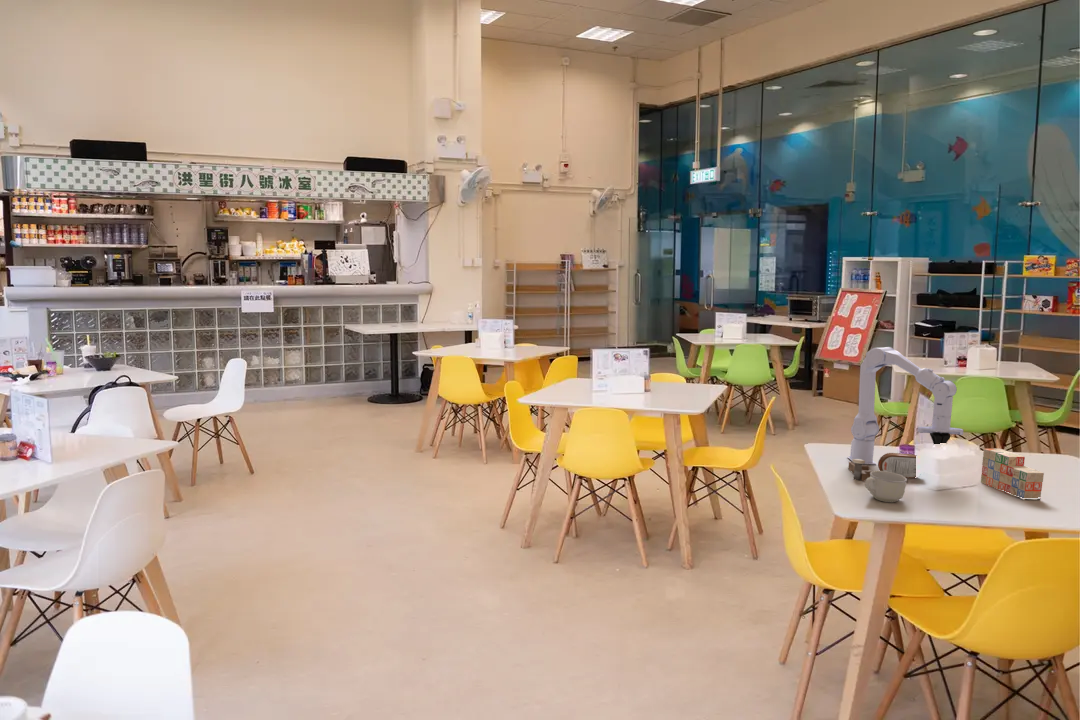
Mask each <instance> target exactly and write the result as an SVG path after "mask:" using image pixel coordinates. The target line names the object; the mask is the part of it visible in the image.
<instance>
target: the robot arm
mask: <svg viewBox="0 0 1080 720" xmlns="http://www.w3.org/2000/svg"><path fill="white" fill-rule="evenodd" d="M888 365H892V366H893V365H895V366H897V367H899V368H900V369H902V370H904V371H905V372H907V373H909V374H910V375H913V376H914V378H915V382H917V383H918V384H920V385H921V386H923V387H924V388H926V389H927V390H929V391H930V392H931V394H932V395H933V397H934V399H933V409H932V411H933V412H932V419H931V422H932V423H931V425H930V426H919V425H918V426H917V433H919V434H929V435H930V438H931V440H932V443H933V445H934V444H940V443H946V444H947V443H948V442H949V440H950V439H951V435H959V436H963V435H964V429H962V428H957V427H951V423H952V422H951V421H952V411H953V403H954V402H953V401H954V400H953V399H954V396H955V395H956V393H957V390H958V389H957V388H958V387H957V386H956V384H955V383H954V382H953V380H948V379H946V378H945V377H943V376H939V375H938V374H937V373H935V372H934V370H933V368H927V367H924V368H921V367H920V366H918V365H917V364H916V363H914V362H912V361H911V360H910V359H909V358H907V357H906V356H905V355H903V354H902V353H901V352H900V351H898V350H896V349H894V348H893V347H892V346H885V347H884V346H883V347H872V348H870V350H868V351H866V352H865V357H864V359H863V360H862V362H861V364H860V368H859V369H860V370H859V371H860V373H859V389H858V390H859V391H858V393H859V395H858V413H857V414H856V415H855V417H854V418H853V424H852V425H851V428H850V431H851V434H852V436H853V439H852V440H851V443H850V453H849V455H850V456H847V459H848V460H850V462H852V461H853V459H861V460H864V461H865V463H864V464H863V465H877V462H876V461H874V450H875V439H876V436H877V435H878V433H879V432H880V426H879V423H878V417H877V416H876V414H875V399H876V396H875V395H876V382H877V381H876V379H877V378H876V375H877V372H878V371H879V370H880V369H882V368H883V367H885V366H888ZM945 379H946V380H945Z"/></svg>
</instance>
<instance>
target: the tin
mask: <svg viewBox="0 0 1080 720" xmlns="http://www.w3.org/2000/svg"><path fill="white" fill-rule="evenodd" d="M916 456H917V455H916V454H914V453H913V454H912V453H898V452H887V453H884V454H883V455H882V456H880V457H879V459H878V462H877V466H878V469H879V470H878V471H887V472H892V473H896V474H899V475H902V476H904V477H905V478H906V479H916V478H915V477H916Z"/></svg>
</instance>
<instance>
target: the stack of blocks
mask: <svg viewBox="0 0 1080 720" xmlns="http://www.w3.org/2000/svg"><path fill="white" fill-rule="evenodd" d="M982 455H983V456H982V464H981V465H982V466H981V476H980V483H982V484H984V485H986V486H988V485H989V486H988V487H990V488H993V487H994V489H995V488H997V489H996V490H998V489H1001V490H1004V491H1006V492H1009V493H1011V494H1013V495H1016V496H1019V497H1022V498H1038V497H1042V489H1043V482H1044V475H1045V472H1043V471H1040V470H1037V469H1034V468H1032V467H1029V466H1027V465H1025V456H1023V455H1020V454H1017V453H1015V452H1011V451H1007V450H1006V449H1002V448H983V454H982Z"/></svg>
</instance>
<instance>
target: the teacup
mask: <svg viewBox="0 0 1080 720" xmlns="http://www.w3.org/2000/svg"><path fill="white" fill-rule="evenodd" d="M871 471H872V472H870V477H869V478H867V479H866V481H864V487H865V488H866V490H867V491H869V494H871V495H872V496H873V498H874V499H875V500H877V501H881V502H885V503H895V502H898V501H899V500H902V498H903V497H904V495H905V491H906V486H907V485H906V484H907V481H908V478H905V477H904V476H902V475H899V474H896V473H892V472H887V471H880V470H871Z"/></svg>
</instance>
